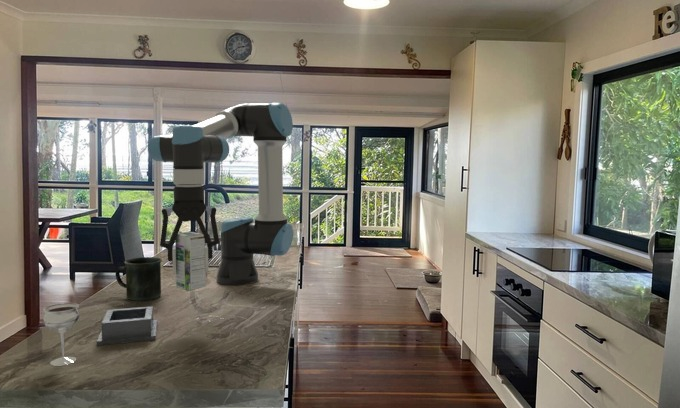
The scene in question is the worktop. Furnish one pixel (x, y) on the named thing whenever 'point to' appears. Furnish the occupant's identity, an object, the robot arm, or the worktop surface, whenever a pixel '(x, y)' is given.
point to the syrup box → (190, 261)
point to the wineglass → (61, 325)
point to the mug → (141, 278)
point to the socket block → (128, 326)
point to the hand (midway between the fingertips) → (190, 271)
